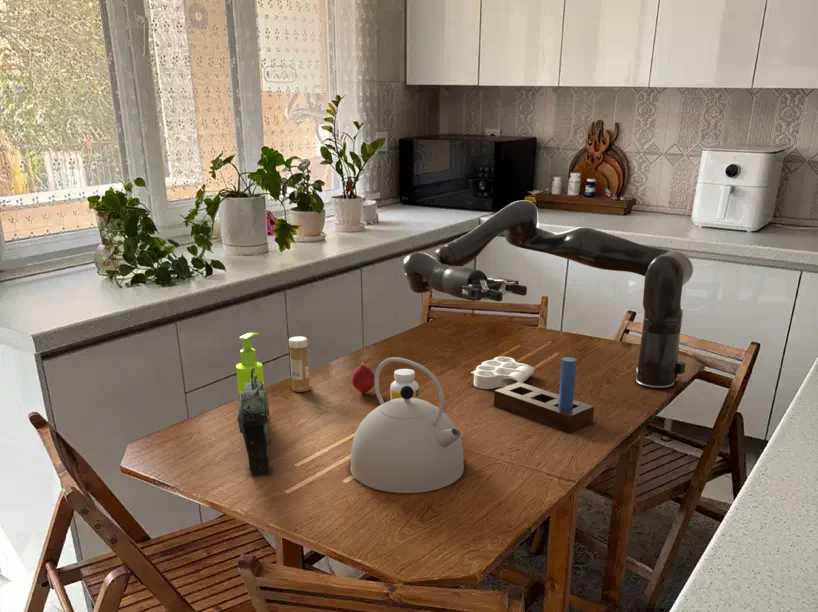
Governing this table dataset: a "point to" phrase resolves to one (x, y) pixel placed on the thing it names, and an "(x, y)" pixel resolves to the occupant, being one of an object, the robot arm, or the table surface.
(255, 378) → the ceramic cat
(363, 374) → the onion
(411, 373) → the pill bottle
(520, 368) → the white multi-cup tray
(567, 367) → the peg
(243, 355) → the soap dispenser
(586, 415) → the rack
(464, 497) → the table surface
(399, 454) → the kettle
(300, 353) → the sprinkles bottle
